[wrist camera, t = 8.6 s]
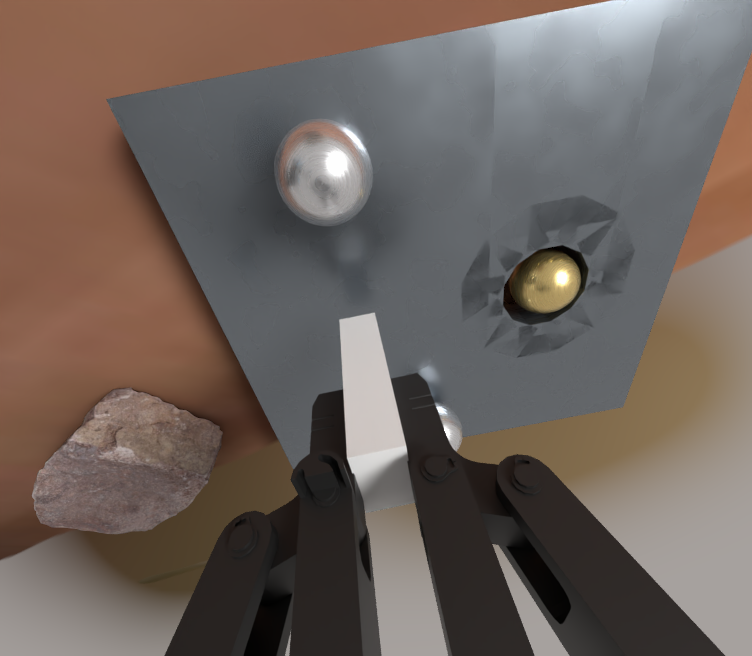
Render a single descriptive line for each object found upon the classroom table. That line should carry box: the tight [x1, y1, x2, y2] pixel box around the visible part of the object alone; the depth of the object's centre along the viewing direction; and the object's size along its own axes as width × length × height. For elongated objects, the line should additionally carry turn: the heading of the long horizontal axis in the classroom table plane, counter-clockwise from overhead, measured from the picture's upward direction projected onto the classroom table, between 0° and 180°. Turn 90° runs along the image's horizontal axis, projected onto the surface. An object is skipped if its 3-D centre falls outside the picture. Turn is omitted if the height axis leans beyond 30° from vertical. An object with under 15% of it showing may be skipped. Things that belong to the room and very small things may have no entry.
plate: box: [106, 0, 752, 469], centre depth 18 cm, size 24×22×2 cm
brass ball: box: [509, 249, 581, 313], centre depth 18 cm, size 4×4×4 cm
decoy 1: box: [274, 119, 373, 226], centre depth 12 cm, size 4×4×4 cm
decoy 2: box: [435, 402, 462, 451], centre depth 20 cm, size 4×4×4 cm
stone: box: [32, 388, 223, 534], centre depth 23 cm, size 9×12×5 cm
